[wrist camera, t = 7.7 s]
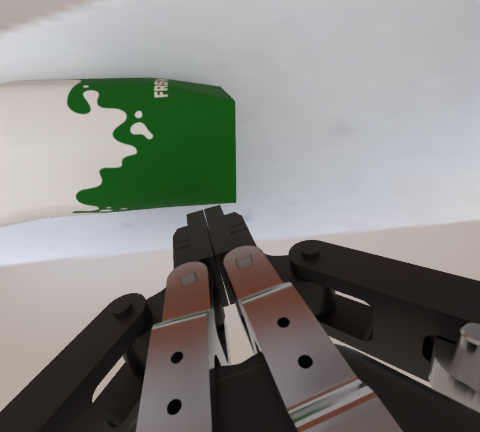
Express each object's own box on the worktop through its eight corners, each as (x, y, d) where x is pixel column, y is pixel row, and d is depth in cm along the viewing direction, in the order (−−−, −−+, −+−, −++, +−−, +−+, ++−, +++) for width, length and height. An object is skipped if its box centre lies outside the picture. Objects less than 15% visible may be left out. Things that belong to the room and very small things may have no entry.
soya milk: (222, 174, 29) (-6, 191, 26) (219, 71, 24) (-60, 76, 21) (239, 219, 21) (-80, 252, 18) (238, 83, 17) (-189, 94, 14)
